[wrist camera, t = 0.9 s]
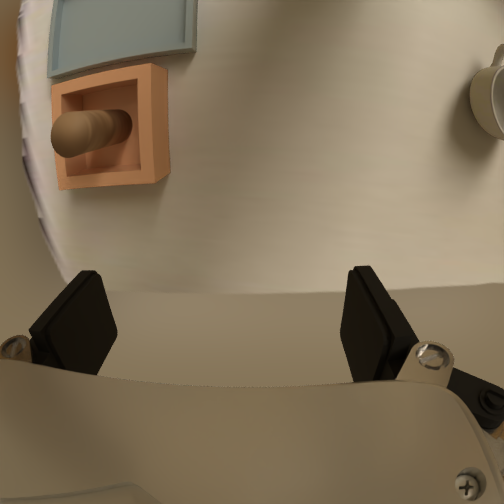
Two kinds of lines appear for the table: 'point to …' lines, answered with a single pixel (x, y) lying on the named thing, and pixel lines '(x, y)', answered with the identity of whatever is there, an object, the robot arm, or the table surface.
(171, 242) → the table surface
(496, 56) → the teacup
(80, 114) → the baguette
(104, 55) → the tray
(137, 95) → the open box
